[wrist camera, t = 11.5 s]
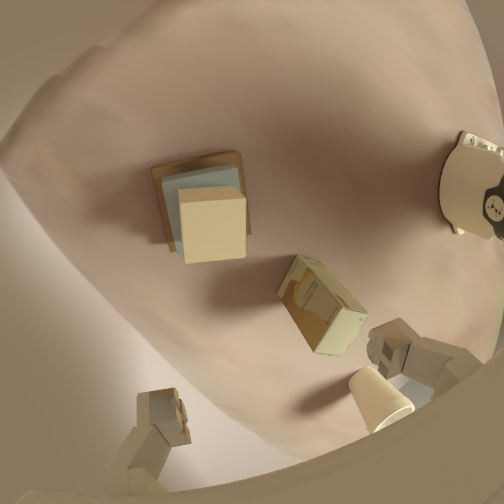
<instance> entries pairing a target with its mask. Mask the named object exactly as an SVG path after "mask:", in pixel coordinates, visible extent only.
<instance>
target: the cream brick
mask: <svg viewBox="0 0 504 504" xmlns="http://www.w3.org/2000/svg"><path fill="white" fill-rule="evenodd" d="M178 196H179V211H180V225H181V238H182V246H183V253H184V259H185V264H189V263H199V262H208V261H218V260H227V259H237V258H246V198H245V197H244V196H243V195H242V194H241V193H240V192H239V191H238V190H237V189H236V188H235V187H234V186H233V185H231V186H215V187H201V188H188V189H178Z"/></svg>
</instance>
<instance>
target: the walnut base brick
mask: <svg viewBox="0 0 504 504" xmlns="http://www.w3.org/2000/svg"><path fill="white" fill-rule="evenodd" d="M226 164H233V165H234V166H236V167H237V168H238V175H239V182H240V189H241V194H242V195H243V196H244V197H245V198H246V190H245V183H244V176H243V168H242V161H241V154H240V152H238V151H236V150H233V151H227V152H221V153H215V154H210V155H205V156H200V157H194V158H189V159H185V160H180V161H175V162H171V163H166V164H162V165H157V166H153V167H152V169H151V171H152V176H153V181H154V186H155V190H156V195H157V199H158V204H159V208H160V213H161V217H162V221H163V225H164V229H165V234H166V238H167V242H168V246H169V249H170V252H175V251H176V246H175V242H174V238H173V234H172V230H171V225H170V221H169V216H168V212H167V207H166V203H165V198H164V193H163V188H162V184H161V182H162V177H166V176H170V175H175V174H180V173H184V172H189V171H194V170H199V169H204V168H210V167H215V166H220V165H226ZM246 233H247V235H249V234H251V227H250V220H249V212H248V205H247V198H246Z"/></svg>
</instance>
